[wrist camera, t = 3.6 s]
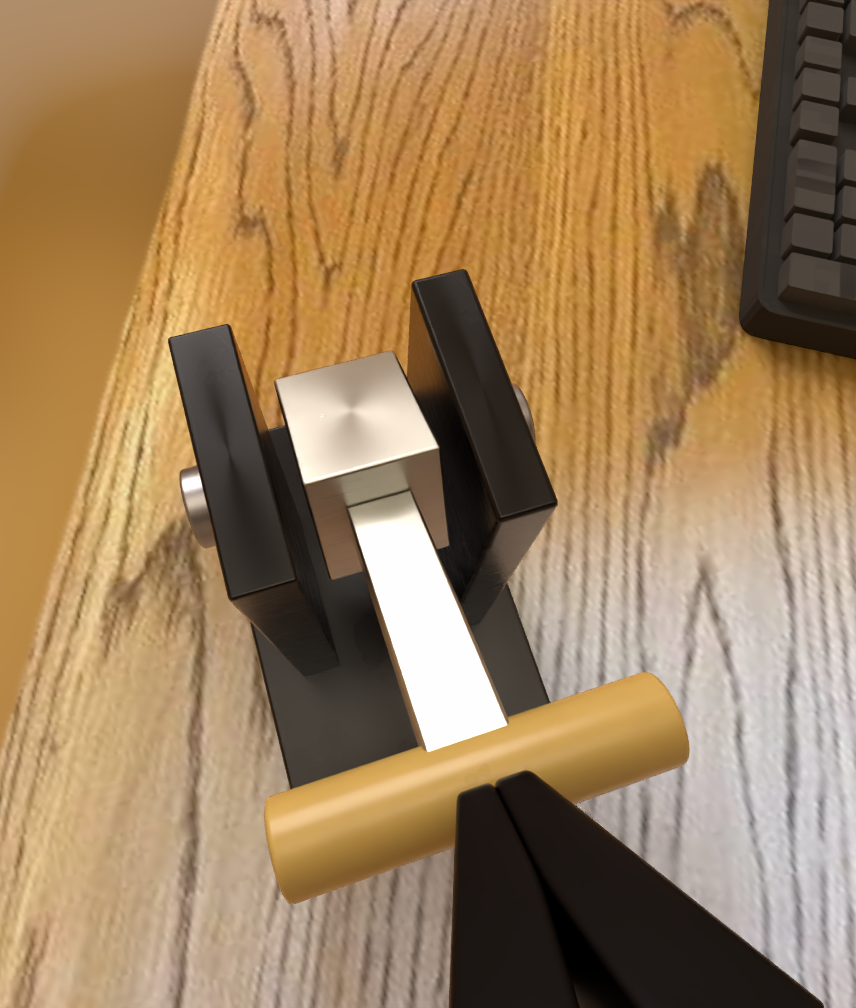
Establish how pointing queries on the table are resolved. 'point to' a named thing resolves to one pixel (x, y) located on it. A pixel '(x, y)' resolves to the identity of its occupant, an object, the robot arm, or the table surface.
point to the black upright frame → (346, 601)
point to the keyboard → (805, 181)
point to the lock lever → (427, 652)
